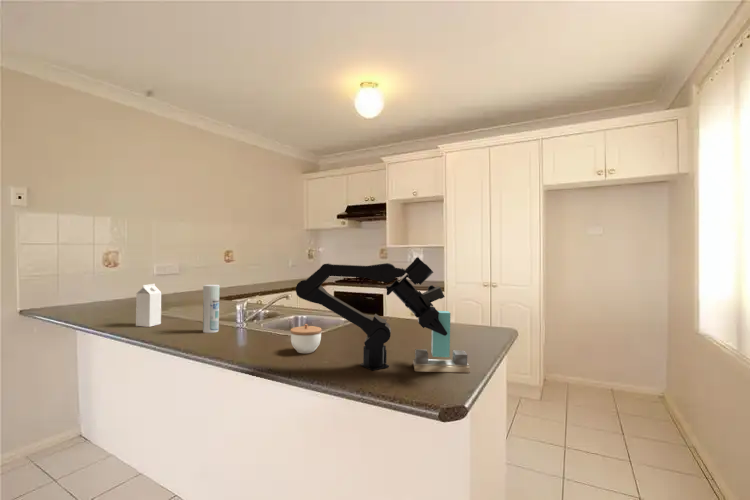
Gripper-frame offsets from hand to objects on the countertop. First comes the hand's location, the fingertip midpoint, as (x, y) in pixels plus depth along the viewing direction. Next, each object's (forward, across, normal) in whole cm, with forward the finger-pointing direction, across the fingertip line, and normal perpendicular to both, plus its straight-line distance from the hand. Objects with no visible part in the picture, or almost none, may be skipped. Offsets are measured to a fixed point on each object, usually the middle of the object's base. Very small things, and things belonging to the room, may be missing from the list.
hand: (445, 332), depth 112 cm
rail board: (+7, 0, +8) cm, 11 cm away
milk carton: (-82, +53, +100) cm, 140 cm away
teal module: (+4, 0, +6) cm, 7 cm away
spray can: (-58, +43, +75) cm, 104 cm away
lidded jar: (-25, +16, +41) cm, 50 cm away
